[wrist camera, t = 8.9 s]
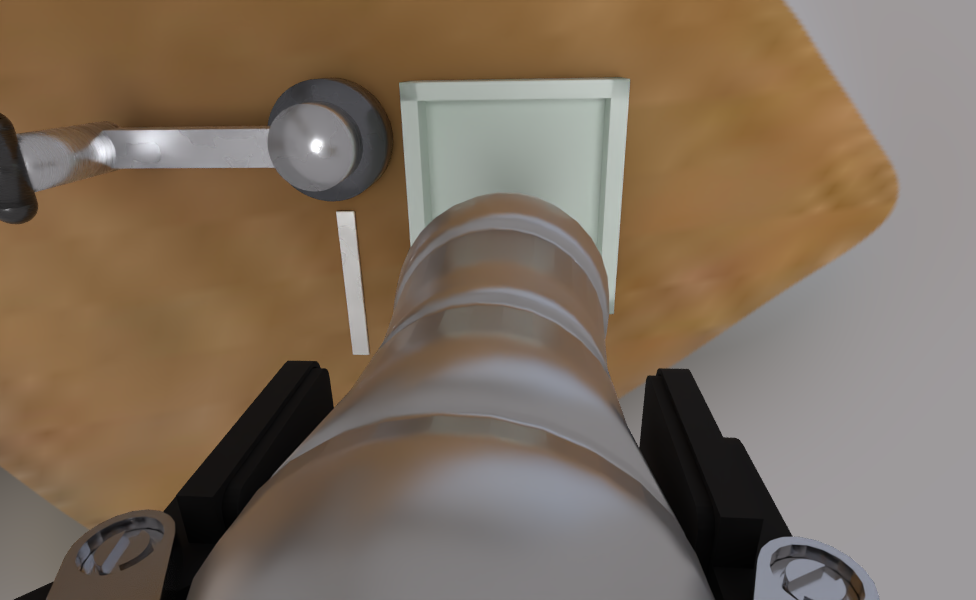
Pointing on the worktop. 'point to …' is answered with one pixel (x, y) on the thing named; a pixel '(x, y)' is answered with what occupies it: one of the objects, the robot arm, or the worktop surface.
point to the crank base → (349, 178)
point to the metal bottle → (471, 443)
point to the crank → (178, 152)
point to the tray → (519, 148)
